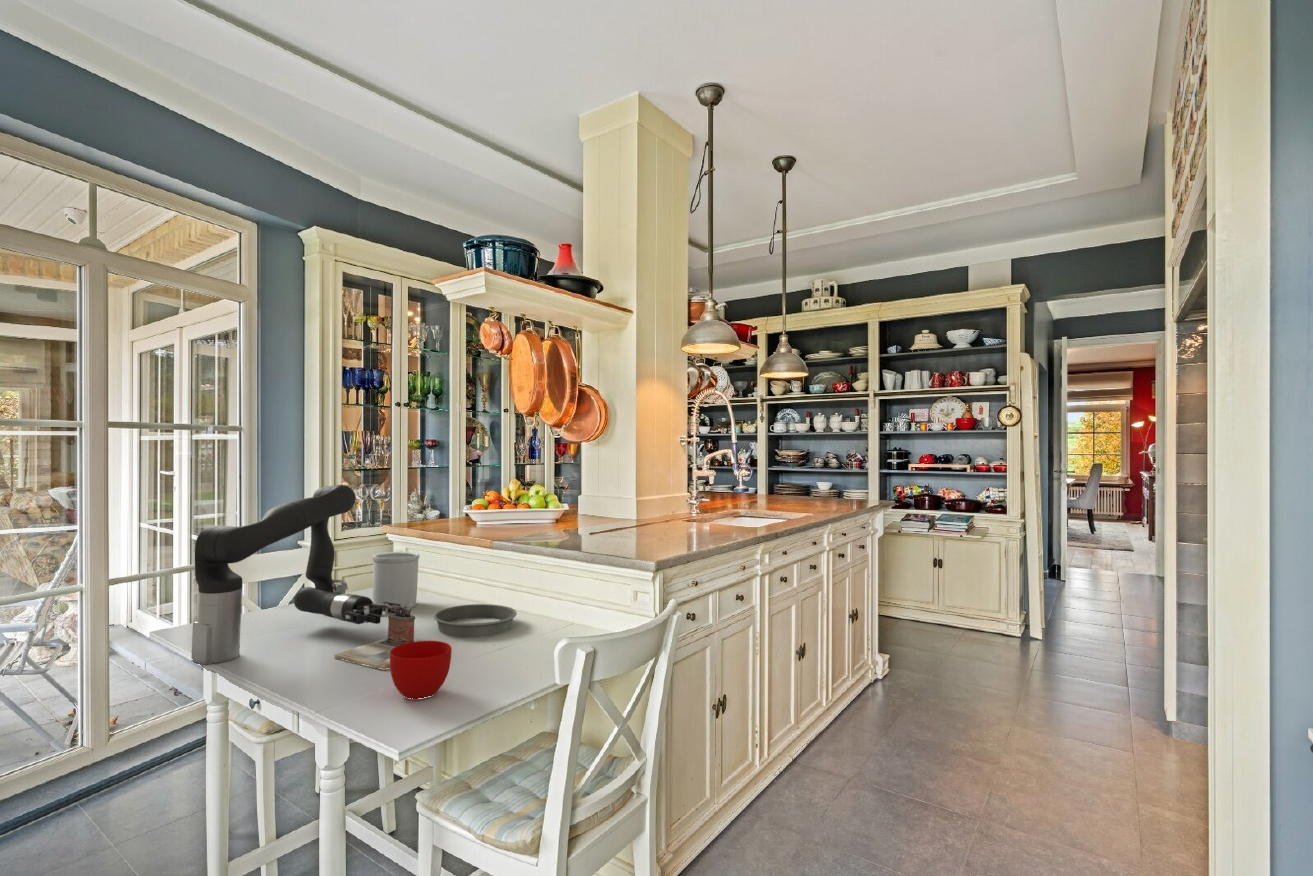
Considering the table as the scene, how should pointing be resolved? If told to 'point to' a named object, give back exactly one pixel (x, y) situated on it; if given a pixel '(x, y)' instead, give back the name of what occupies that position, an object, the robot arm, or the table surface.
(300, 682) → the table surface
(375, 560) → the utensil holder
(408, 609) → the lighter
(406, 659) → the red bowl
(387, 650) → the book
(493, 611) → the cake pan
